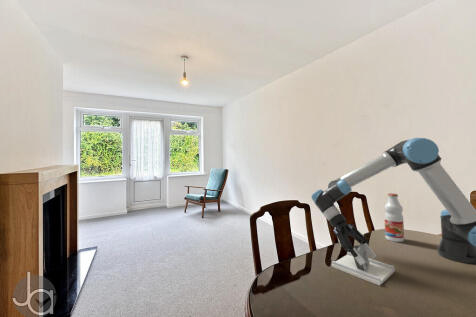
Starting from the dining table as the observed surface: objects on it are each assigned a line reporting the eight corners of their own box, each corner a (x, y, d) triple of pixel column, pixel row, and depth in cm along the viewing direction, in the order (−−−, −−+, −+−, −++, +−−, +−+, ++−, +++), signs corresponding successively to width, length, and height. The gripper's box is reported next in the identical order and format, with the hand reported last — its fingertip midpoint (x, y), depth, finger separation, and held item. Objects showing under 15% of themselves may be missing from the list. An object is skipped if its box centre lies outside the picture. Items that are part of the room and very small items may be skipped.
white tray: (394, 271, 94) (394, 265, 94) (379, 285, 84) (379, 279, 84) (348, 256, 110) (348, 251, 110) (331, 266, 100) (331, 261, 100)
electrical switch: (366, 272, 92) (363, 250, 92) (353, 269, 95) (350, 248, 96) (370, 263, 99) (367, 243, 100) (357, 262, 102) (354, 242, 103)
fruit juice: (407, 240, 128) (406, 194, 129) (397, 243, 125) (395, 195, 125) (391, 235, 137) (389, 192, 138) (381, 238, 134) (380, 193, 134)
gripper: (342, 217, 116) (375, 258, 102) (316, 225, 104) (349, 271, 91) (351, 209, 112) (387, 250, 98) (325, 216, 100) (361, 263, 86)
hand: (368, 260), depth 94 cm, fingers closed on electrical switch, 9 cm apart
